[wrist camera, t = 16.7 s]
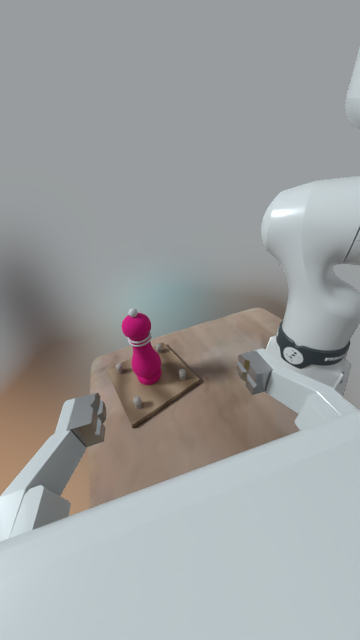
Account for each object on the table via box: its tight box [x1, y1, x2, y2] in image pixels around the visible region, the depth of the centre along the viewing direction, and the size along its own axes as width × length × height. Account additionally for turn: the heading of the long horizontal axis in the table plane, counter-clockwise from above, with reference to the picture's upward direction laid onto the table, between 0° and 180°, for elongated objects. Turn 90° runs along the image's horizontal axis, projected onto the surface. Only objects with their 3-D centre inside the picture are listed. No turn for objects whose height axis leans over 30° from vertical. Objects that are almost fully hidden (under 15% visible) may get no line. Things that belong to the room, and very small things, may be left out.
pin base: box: [107, 343, 200, 428], centre depth 46 cm, size 18×18×4 cm
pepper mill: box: [122, 309, 162, 385], centre depth 41 cm, size 7×7×20 cm
